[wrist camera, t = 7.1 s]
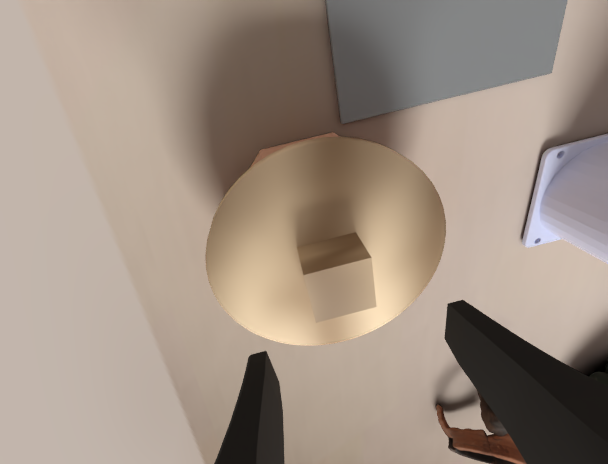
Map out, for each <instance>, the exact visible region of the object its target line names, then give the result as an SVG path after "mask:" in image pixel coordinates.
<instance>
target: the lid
mask: <svg viewBox="0 0 608 464" xmlns="http://www.w3.org/2000/svg"><path fill="white" fill-rule="evenodd" d="M445 236H446V220H445V214H444V209H443V205H442V202H441V200H440V197H439V194H438V192H437V191H436V189H435V187H434V185H433V183H432V182H431V181H430V180H429V178H428V177H427V176H426V175H425V173H424V172H423V171H422V170H421V169H420V168H418V167H417V166H416V165H415V164H414V163H413V162H412V161H410V160H408V159H407V158H405V157H404V156H402V155H400V154H399V153H397V152H395V151H394V150H392V149H390V148H388V147H386V146H383V145H381V144H378V143H376V142H372V141H368V140H364V139H360V138H352V137H342V136H340V137H321V138H316V139H310V140H305V141H302V142H298V143H295V144H292V145H289V146H286V147H284V148H282V149H280V150H278V151H276V152H274V153H271V154H270V155H268V156H266V157H265V158H263V159H262V160H260V161H259V162H257V163H256V164H254V165H253V166H252V167H251V168H249V169H248V170H247V171H246V172H245V173H244V174H242V175H241V176H240V177H239V179H238V180H237V181H236V182H235V183H234V184H233V185H232V186H231V188H230V189H229V190H228V192H227V193H226V195H225V196H224V198H223V199H222V201H221V202H220V204H219V207H218V209H217V211H216V213H215V215H214V218H213V221H212V225H211V228H210V232H209V235H208V239H207V246H206V270H207V275H208V279H209V283H210V285H211V288H212V290H213V293H214V295H215V297H216V298H217V300H218V302H219V303H220V305H221V306H222V307H223V309H224V310H225V311H226V312H227V313H228V315H230V316H231V317H232V318H233V319H234V320H235V321H236V322H237V323H239V324H240V325H242V326H243V327H244V328H246V329H247V330H249V331H251V332H253V333H255V334H257V335H259V336H261V337H264V338H267V339H269V340H273V341H277V342H281V343H286V344H292V345H306V346H310V345H325V344H333V343H337V342H342V341H346V340H350V339H353V338H356V337H359V336H361V335H364V334H366V333H369V332H371V331H373V330H375V329H377V328H379V327H381V326H383V325H384V324H386V323H387V322H389V321H391V320H392V319H394V318H395V317H396V316H398V315H399V314H400V313H402V312H403V311H404V310H405V309H406V308H407V307H408V306H409V305H411V304H412V303H413V302H414V301H415V299H416V298H417V297H418V296H419V295H420V294H421V293H422V291H423V290H424V289H425V287H426V286H427V284H428V283H429V282H430V280H431V278H432V276H433V275H434V273H435V271H436V269H437V266H438V264H439V262H440V259H441V256H442V252H443V249H444V243H445Z"/></svg>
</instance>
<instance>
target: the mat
mask: <svg viewBox="0 0 608 464" xmlns="http://www.w3.org/2000/svg"><path fill="white" fill-rule="evenodd" d="M325 3H326V11H327V19H328V26H329V34H330V42H331V50H332V58H333V66H334V74H335V81H336V89H337V97H338V105H339V113H340V121H341V124H344V123H348V122H352V121H356V120H361V119H365V118H369V117H373V116H377V115H381V114H385V113H389V112H394V111H398V110H402V109H406V108H410V107H414V106H418V105H422V104H427V103H431V102H435V101H439V100H443V99H447V98H451V97H455V96H460V95H464V94H468V93H472V92H476V91H480V90H484V89H488V88H493V87H497V86H501V85H505V84H509V83H513V82H517V81H521V80H526V79H530V78H534V77H538V76H542V75H546V74H550V73H552V69H553V64H554V60H555V55H556V50H557V46H558V41H559V37H560V32H561V28H562V23H563V18H564V14H565V9H566V5H567V0H325Z"/></svg>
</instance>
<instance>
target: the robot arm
mask: <svg viewBox="0 0 608 464" xmlns="http://www.w3.org/2000/svg"><path fill="white" fill-rule="evenodd" d="M557 154H558V155H557ZM560 239H564V240H566V241H567V242H569V243H571V244H573V245H574V246H576V247H578V248H580V249H582V250H583V251H585V252H587V253H589V254H591V255H592V256H594V257H596V258H598V259H600V260H601V261H603V262H605V263H607V264H608V134H604V135H600V136H596V137H592V138H588V139H584V140H580V141H576V142H572V143H568V144H564V145H560V146H556V147H552V148H549V149H547V150H546V151H545V152H544V153H543V155H542V159H541V163H540V167H539V172H538V176H537V180H536V184H535V189H534V193H533V197H532V202H531V206H530V210H529V214H528V219H527V223H526V227H525V232H524V236H523V240H522V244H523V245H524V246H526V247H533V246H537V245H540V244H544V243H548V242H552V241H556V240H560ZM445 340H446V342H447V344H448V345H449V347H450V349H451V351H452V353H453V354H454V356H455V358H456V360H457V361H458V363H459V365H460V366H461V367H462V369H463V370H464V372H465V373H466V375H467V376H468V377H469V379H470V380H471V382H472V383H473V384H474V386H475V387H476V389H477V390H478V391H479V393H480V394H481V396H482V397H483V398H484V400H485V401H486V403H487V404H488V405H489V407H490V408H491V409H492V411H493V412H494V414H495V415H496V416H497V418H498V419H499V421H500V422H501V423H502V425H503V426H504V428H505V429H506V431H507V432H508V434H509V435H510V437H511V439H512V440H513V442H514V444H515V445H516V447H517V449H518V450H519V452H520V454H521V455H522V457H523V458H524V460H525V462H526V463H527V464H608V386H606V385H604V384H602V383H600V382H598V381H596V380H594V379H592V378H590V377H588V376H586V375H584V374H582V373H581V372H579V371H577V370H575V369H573V368H571V367H569V366H568V365H566V364H564V363H562V362H560V361H559V360H557V359H555V358H553V357H552V356H550V355H548V354H547V353H545V352H543V351H541V350H540V349H538V348H536V347H535V346H533V345H531V344H530V343H528V342H527V341H525V340H523V339H522V338H520V337H519V336H517V335H516V334H514V333H512V332H511V331H509V330H508V329H506V328H505V327H503V326H501V325H500V324H498V323H497V322H495V321H494V320H492V319H491V318H489V317H488V316H486V315H485V314H483V313H482V312H480V311H479V310H477V309H476V308H474V307H473V306H471V305H470V304H468V303H467V302H465V301H464V300H461V301H457V302H453V303H449V304H448V307H447V318H446V329H445ZM215 464H284V435H283V409H282V401H281V393H280V385H279V381H278V378H277V376H276V373H275V371H274V369H273V366H272V364H271V361H270V359H269V356H268V354H267V352H266V351H264V352H260V353H256V354H253V355H250V356H249V358H248V363H247V367H246V371H245V375H244V379H243V383H242V386H241V390H240V393H239V397H238V400H237V403H236V406H235V409H234V412H233V415H232V418H231V421H230V424H229V427H228V430H227V432H226V435H225V438H224V440H223V443H222V446H221V448H220V451H219V454H218V456H217V459H216V461H215Z"/></svg>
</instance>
